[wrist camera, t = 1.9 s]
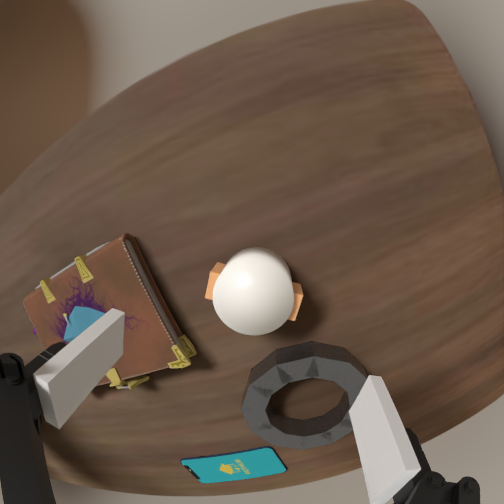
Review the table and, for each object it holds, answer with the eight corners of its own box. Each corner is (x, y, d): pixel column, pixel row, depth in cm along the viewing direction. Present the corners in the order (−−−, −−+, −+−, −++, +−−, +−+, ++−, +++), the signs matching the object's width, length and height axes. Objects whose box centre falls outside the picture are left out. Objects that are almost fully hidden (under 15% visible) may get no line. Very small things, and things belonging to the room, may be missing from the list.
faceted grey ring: (234, 420, 33) (231, 436, 30) (263, 330, 30) (262, 344, 27) (337, 437, 33) (340, 452, 30) (384, 354, 29) (392, 369, 26)
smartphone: (288, 472, 34) (201, 484, 37) (288, 468, 35) (202, 481, 37) (270, 446, 33) (178, 460, 36) (270, 442, 34) (179, 456, 36)
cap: (211, 300, 29) (199, 321, 25) (225, 237, 28) (214, 248, 23) (286, 319, 29) (287, 344, 24) (305, 258, 28) (311, 273, 23)
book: (22, 299, 34) (0, 309, 29) (139, 226, 30) (114, 231, 25) (74, 393, 35) (56, 409, 31) (206, 359, 31) (194, 384, 27)
